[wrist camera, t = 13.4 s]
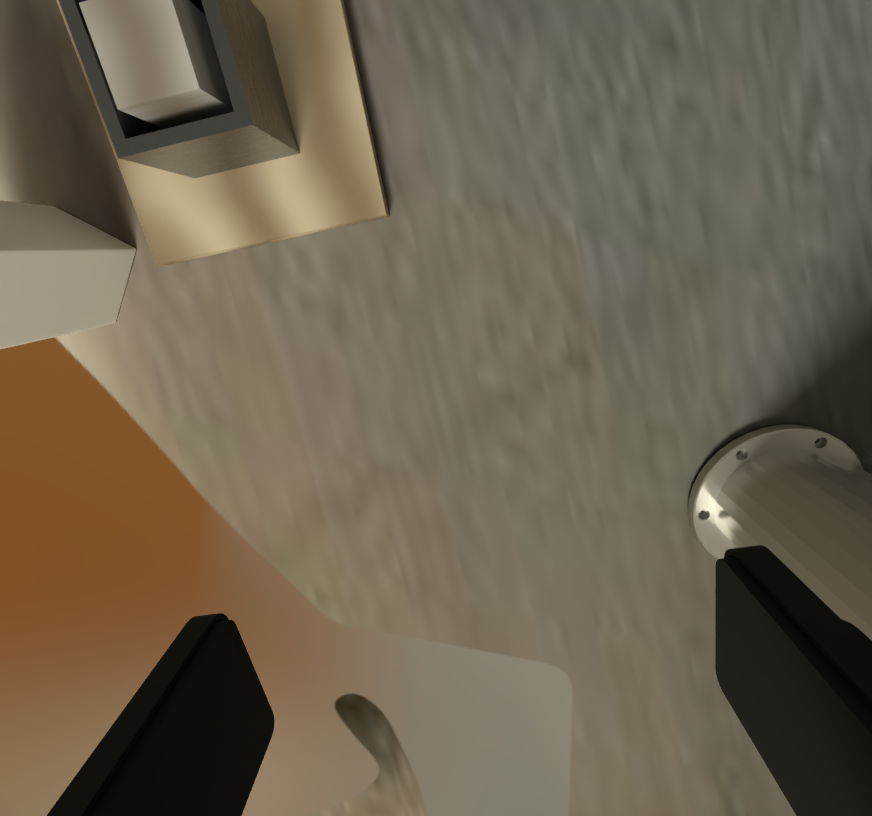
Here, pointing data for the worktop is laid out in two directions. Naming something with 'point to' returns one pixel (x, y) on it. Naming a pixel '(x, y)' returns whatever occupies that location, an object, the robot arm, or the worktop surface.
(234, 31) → the square metal tube
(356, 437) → the worktop surface
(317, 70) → the post board
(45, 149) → the worktop surface
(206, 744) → the robot arm
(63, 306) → the milk
